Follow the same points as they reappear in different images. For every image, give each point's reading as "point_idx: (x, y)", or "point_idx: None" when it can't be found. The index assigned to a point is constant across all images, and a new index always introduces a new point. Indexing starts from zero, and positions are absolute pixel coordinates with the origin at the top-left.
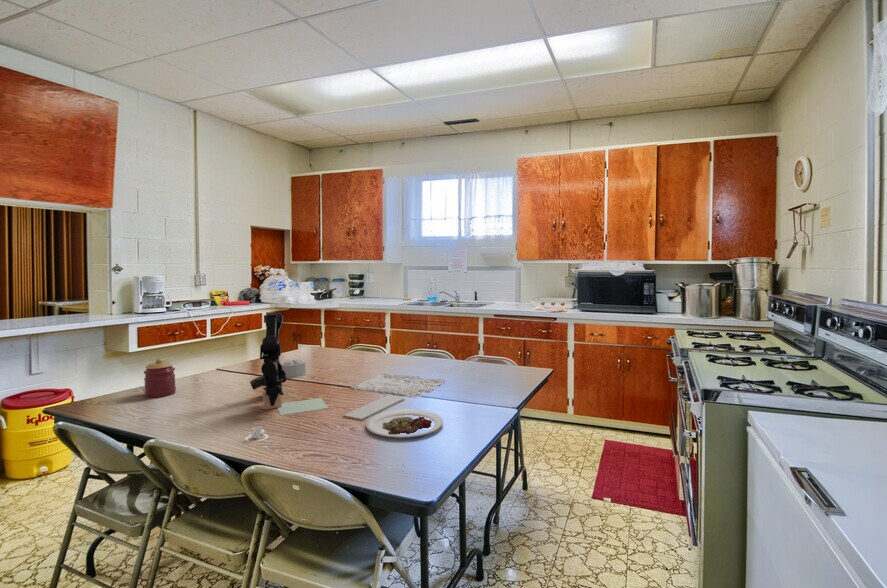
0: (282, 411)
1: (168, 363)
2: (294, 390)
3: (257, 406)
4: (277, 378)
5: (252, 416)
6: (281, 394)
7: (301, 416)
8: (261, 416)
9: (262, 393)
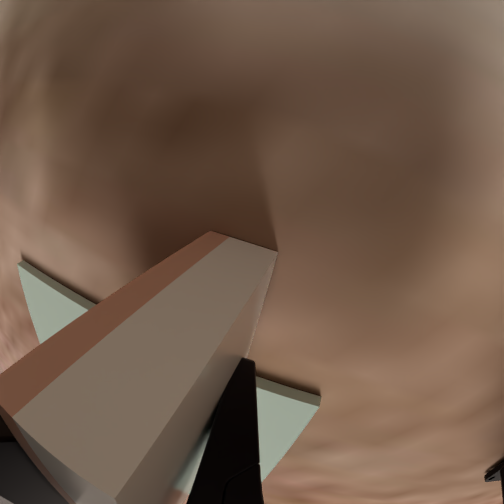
0: (67, 316)
1: None
2: (483, 501)
3: (480, 229)
4: None
5: (85, 43)
6: (496, 474)
7: (18, 328)
8: (48, 130)
9: (106, 496)
